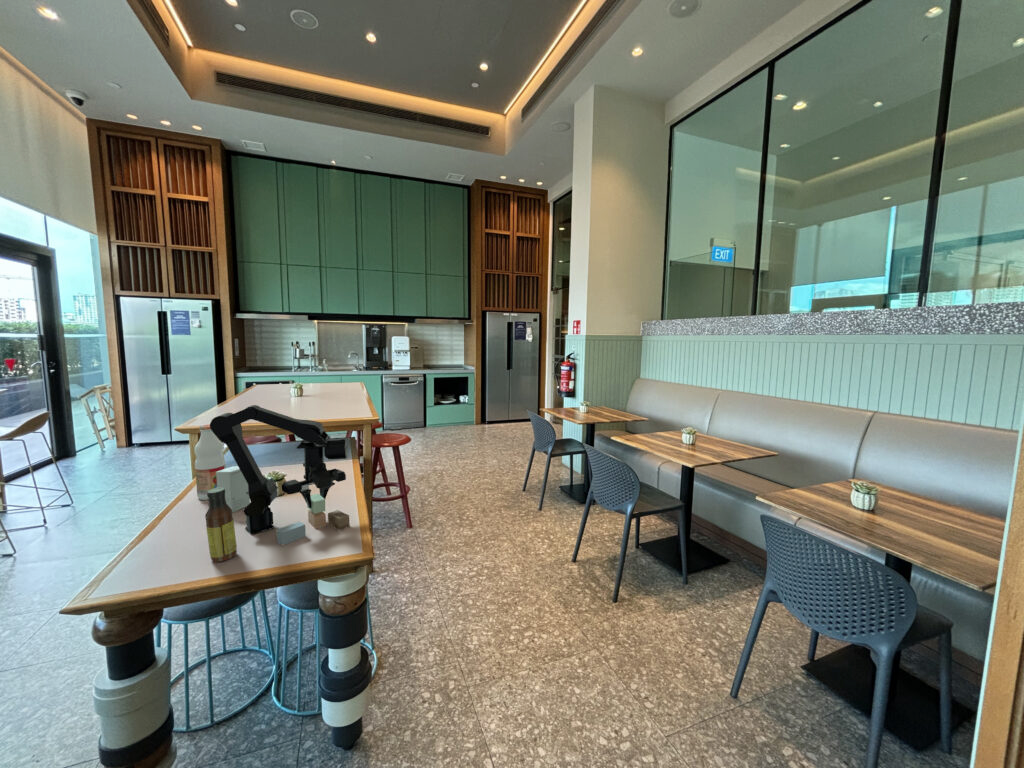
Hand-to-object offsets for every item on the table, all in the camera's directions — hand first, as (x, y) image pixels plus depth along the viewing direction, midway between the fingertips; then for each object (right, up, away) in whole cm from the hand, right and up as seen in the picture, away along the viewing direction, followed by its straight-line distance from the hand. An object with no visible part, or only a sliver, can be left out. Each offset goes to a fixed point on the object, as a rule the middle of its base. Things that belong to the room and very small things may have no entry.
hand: (316, 506), depth 136 cm
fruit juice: (-52, -3, +24) cm, 58 cm away
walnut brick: (+8, -6, -1) cm, 10 cm away
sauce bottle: (-16, -8, -21) cm, 28 cm away
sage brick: (0, -1, 0) cm, 1 cm away
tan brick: (0, -6, +1) cm, 6 cm away
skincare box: (-36, -5, +13) cm, 38 cm away
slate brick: (-3, -7, -10) cm, 13 cm away
